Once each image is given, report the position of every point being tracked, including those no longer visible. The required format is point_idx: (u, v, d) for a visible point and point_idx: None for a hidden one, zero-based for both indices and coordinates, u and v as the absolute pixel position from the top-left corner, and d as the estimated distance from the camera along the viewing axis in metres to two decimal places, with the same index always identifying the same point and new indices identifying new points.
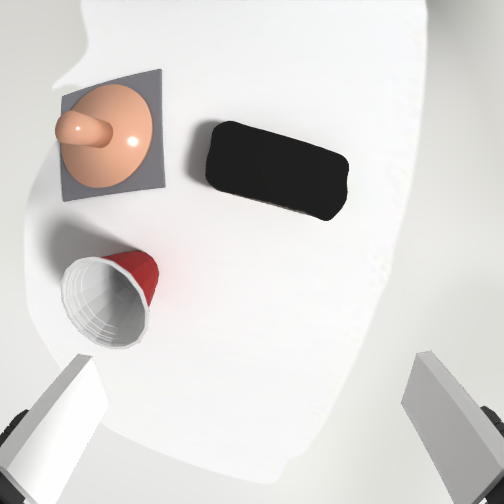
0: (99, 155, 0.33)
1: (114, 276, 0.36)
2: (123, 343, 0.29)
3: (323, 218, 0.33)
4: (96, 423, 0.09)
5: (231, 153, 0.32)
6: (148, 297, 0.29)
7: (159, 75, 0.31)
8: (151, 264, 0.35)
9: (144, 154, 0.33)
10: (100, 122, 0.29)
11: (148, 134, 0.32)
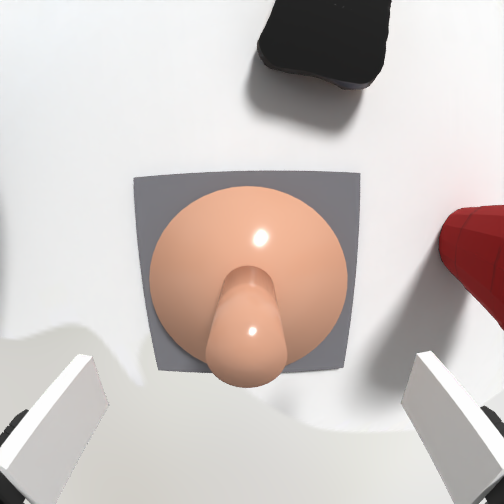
0: (287, 295, 0.20)
1: None
2: None
3: None
4: (96, 423, 0.09)
5: (320, 42, 0.15)
6: None
7: (146, 178, 0.19)
8: (469, 211, 0.18)
9: None
10: (231, 285, 0.17)
11: (264, 191, 0.19)
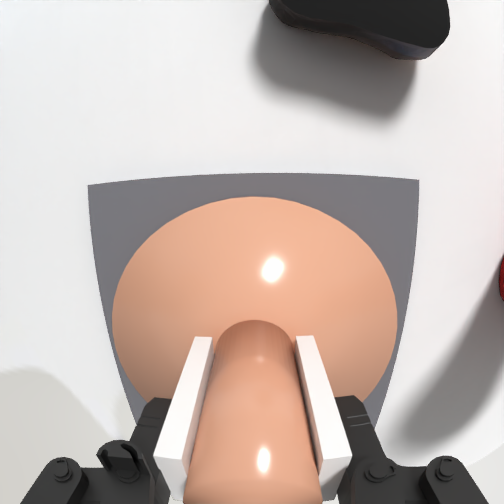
0: None
1: None
2: None
3: None
4: None
5: None
6: None
7: (104, 186, 0.13)
8: None
9: (339, 222, 0.12)
10: (227, 364, 0.10)
11: (282, 205, 0.11)
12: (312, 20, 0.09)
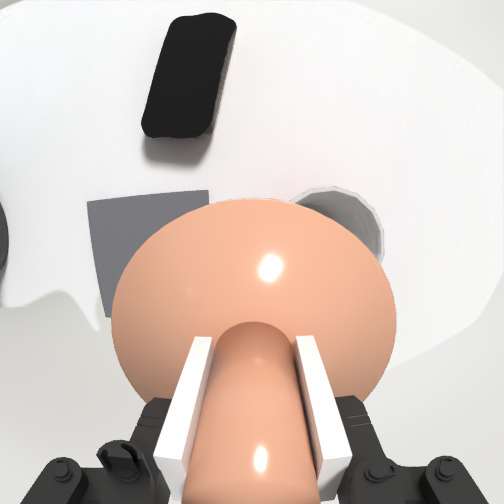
0: None
1: None
2: (376, 234, 0.24)
3: (233, 26, 0.26)
4: None
5: (173, 115, 0.29)
6: None
7: (93, 202, 0.33)
8: None
9: (338, 223, 0.12)
10: (226, 366, 0.10)
11: (281, 207, 0.11)
12: None
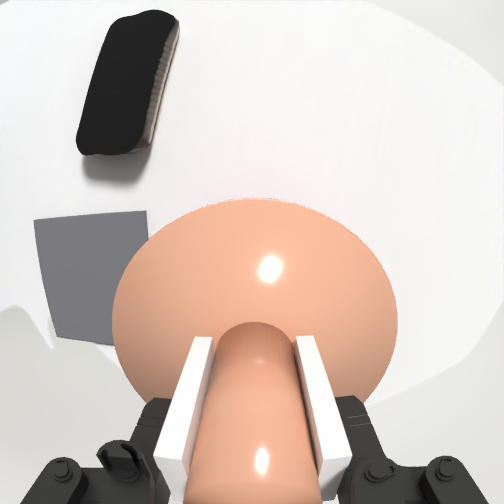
0: None
1: None
2: None
3: (172, 22, 0.21)
4: None
5: (105, 129, 0.24)
6: None
7: (38, 220, 0.29)
8: None
9: (339, 224, 0.12)
10: (228, 367, 0.10)
11: (282, 207, 0.11)
12: None
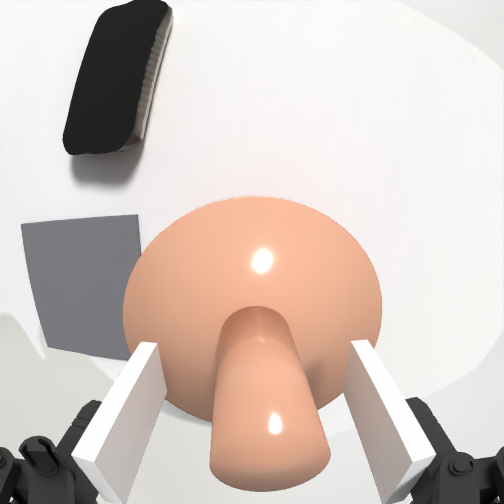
0: (307, 341, 0.15)
1: None
2: None
3: (165, 9, 0.19)
4: (158, 409, 0.11)
5: (93, 126, 0.22)
6: None
7: (26, 225, 0.26)
8: None
9: None
10: (237, 343, 0.11)
11: (279, 204, 0.13)
12: None
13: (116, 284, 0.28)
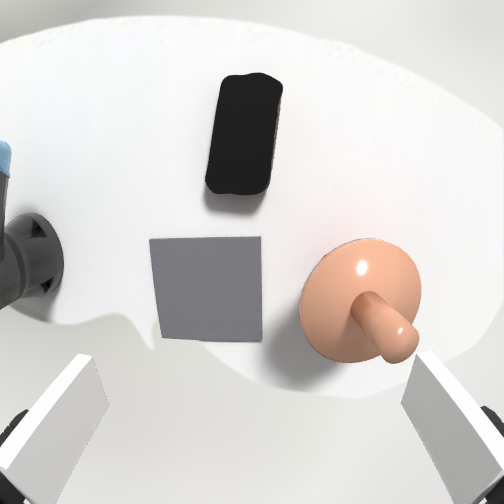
0: None
1: None
2: None
3: (280, 88, 0.33)
4: (96, 423, 0.09)
5: (235, 174, 0.36)
6: None
7: (155, 240, 0.41)
8: None
9: (400, 249, 0.28)
10: (372, 305, 0.25)
11: (382, 243, 0.27)
12: None
13: (240, 285, 0.42)
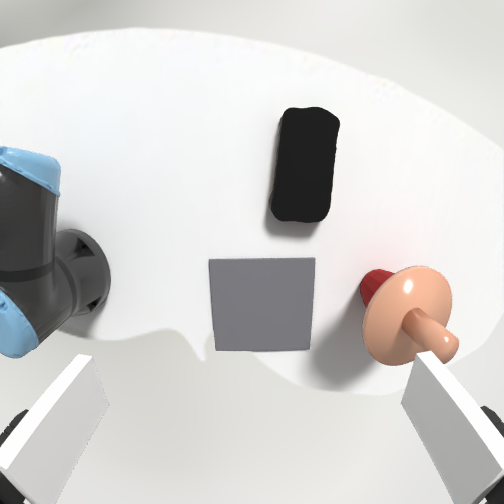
0: None
1: None
2: None
3: (338, 124, 0.37)
4: (96, 423, 0.09)
5: (299, 203, 0.40)
6: None
7: (215, 260, 0.45)
8: (374, 273, 0.43)
9: None
10: (422, 320, 0.30)
11: (428, 270, 0.31)
12: None
13: (294, 301, 0.46)
